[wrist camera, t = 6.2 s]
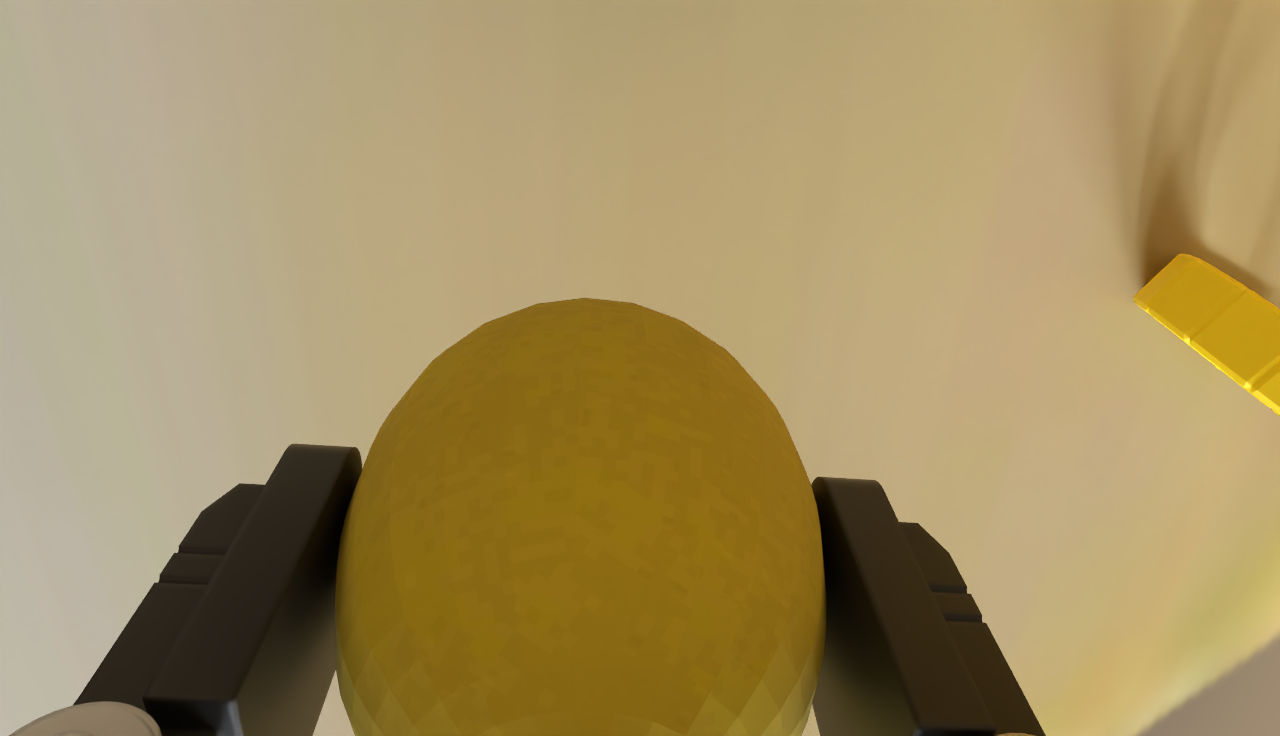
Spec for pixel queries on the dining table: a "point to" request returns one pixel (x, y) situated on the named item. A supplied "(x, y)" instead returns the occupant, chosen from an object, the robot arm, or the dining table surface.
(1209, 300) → the watch
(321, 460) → the robot arm
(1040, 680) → the dining table surface
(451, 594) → the lemon
